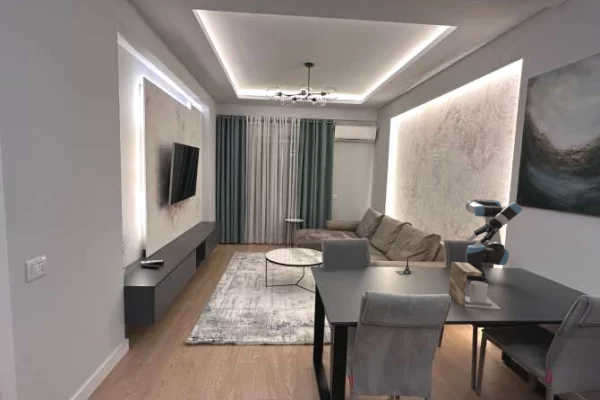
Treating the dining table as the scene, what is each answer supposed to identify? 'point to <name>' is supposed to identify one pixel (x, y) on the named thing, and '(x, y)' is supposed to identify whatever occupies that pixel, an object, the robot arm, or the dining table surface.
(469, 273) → the overhang shelf
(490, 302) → the seat plate
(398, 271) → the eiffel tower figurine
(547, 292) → the dining table surface
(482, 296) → the mug
